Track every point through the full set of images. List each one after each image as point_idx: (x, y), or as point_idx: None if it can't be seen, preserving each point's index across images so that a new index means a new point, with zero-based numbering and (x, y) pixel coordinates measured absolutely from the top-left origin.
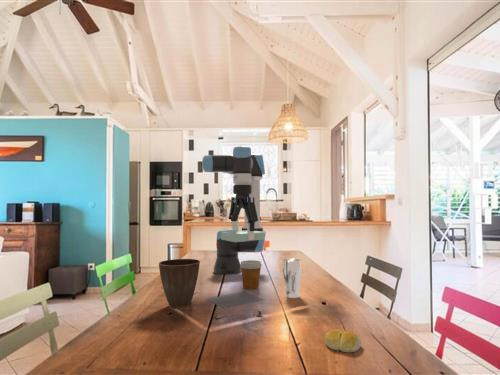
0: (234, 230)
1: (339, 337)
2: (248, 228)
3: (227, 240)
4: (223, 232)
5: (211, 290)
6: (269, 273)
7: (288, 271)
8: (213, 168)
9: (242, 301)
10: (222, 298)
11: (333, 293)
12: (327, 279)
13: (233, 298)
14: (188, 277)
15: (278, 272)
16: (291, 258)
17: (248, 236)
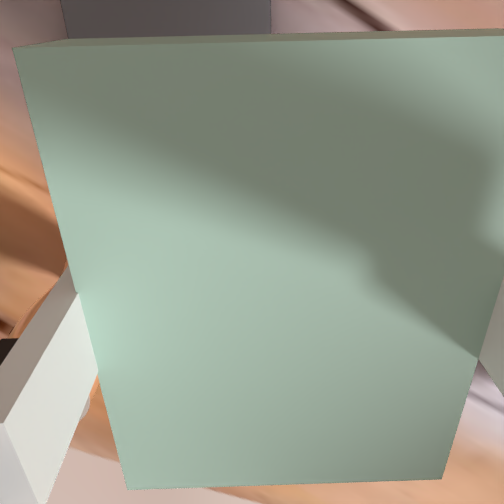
0: (499, 308)
1: None
2: (15, 347)
3: (298, 34)
4: (478, 37)
5: (459, 15)
6: (496, 408)
7: (24, 318)
8: None
9: (108, 24)
10: None
11: (92, 409)
12: (264, 490)
13: (186, 11)
14: None
15: (478, 438)
16: (82, 415)
17: (65, 270)
